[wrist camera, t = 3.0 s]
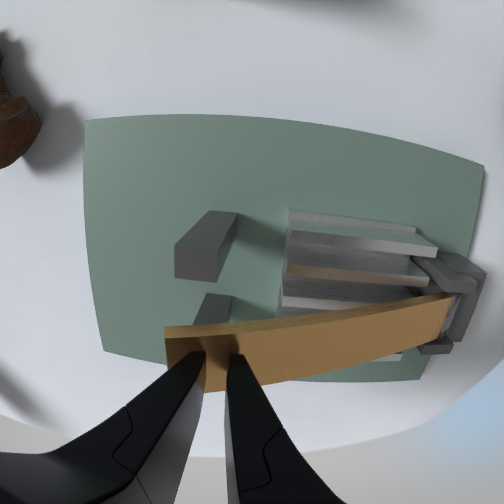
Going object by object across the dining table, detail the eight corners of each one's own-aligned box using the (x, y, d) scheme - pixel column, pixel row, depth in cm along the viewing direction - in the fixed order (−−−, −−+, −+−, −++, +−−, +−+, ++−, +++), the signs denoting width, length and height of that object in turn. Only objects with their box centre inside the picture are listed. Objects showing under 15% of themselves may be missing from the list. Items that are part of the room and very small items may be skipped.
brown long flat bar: (452, 284, 13) (465, 292, 12) (435, 330, 13) (447, 339, 13) (162, 317, 8) (164, 337, 8) (169, 383, 9) (172, 403, 8)
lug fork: (238, 212, 15) (217, 249, 10) (231, 313, 17) (214, 383, 12) (209, 210, 15) (174, 245, 10) (206, 310, 17) (179, 378, 12)
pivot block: (458, 253, 15) (499, 282, 11) (439, 315, 17) (469, 353, 12) (412, 247, 15) (450, 277, 11) (393, 314, 17) (420, 356, 13)
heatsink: (410, 224, 15) (439, 242, 12) (381, 331, 17) (398, 364, 14) (288, 208, 15) (292, 223, 12) (273, 324, 17) (273, 361, 14)
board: (475, 164, 14) (484, 165, 13) (415, 371, 19) (419, 379, 19) (94, 121, 15) (85, 120, 14) (109, 343, 20) (103, 350, 19)
